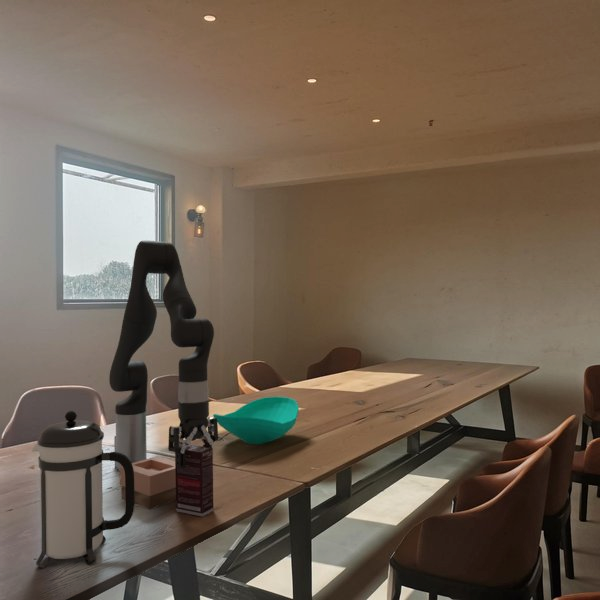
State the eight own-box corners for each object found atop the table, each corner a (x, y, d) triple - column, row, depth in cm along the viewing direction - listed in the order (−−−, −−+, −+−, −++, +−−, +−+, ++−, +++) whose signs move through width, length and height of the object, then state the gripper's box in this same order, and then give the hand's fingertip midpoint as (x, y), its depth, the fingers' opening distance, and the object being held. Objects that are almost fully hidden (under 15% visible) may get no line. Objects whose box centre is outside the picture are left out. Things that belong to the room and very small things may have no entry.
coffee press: (55, 582, 106) (53, 423, 106) (20, 556, 117) (18, 412, 116) (137, 550, 119) (135, 408, 119) (98, 529, 129) (97, 399, 129)
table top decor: (253, 426, 230) (252, 394, 230) (314, 433, 218) (314, 399, 218) (194, 451, 194) (193, 413, 194) (263, 461, 182) (263, 420, 182)
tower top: (119, 485, 149) (119, 466, 149) (156, 473, 159) (156, 456, 159) (150, 496, 141) (150, 476, 141) (187, 483, 151) (187, 464, 150)
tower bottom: (121, 500, 149) (121, 485, 149) (158, 488, 159) (158, 474, 158) (149, 511, 142) (149, 495, 142) (186, 497, 151) (186, 482, 151)
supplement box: (214, 510, 140) (213, 447, 140) (202, 517, 136) (201, 452, 136) (187, 505, 144) (186, 443, 144) (174, 511, 140) (174, 448, 140)
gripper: (204, 393, 148) (205, 454, 148) (160, 401, 137) (161, 468, 137) (224, 395, 143) (225, 459, 143) (181, 404, 132) (182, 473, 132)
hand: (194, 463), depth 140 cm, fingers open, 8 cm apart
